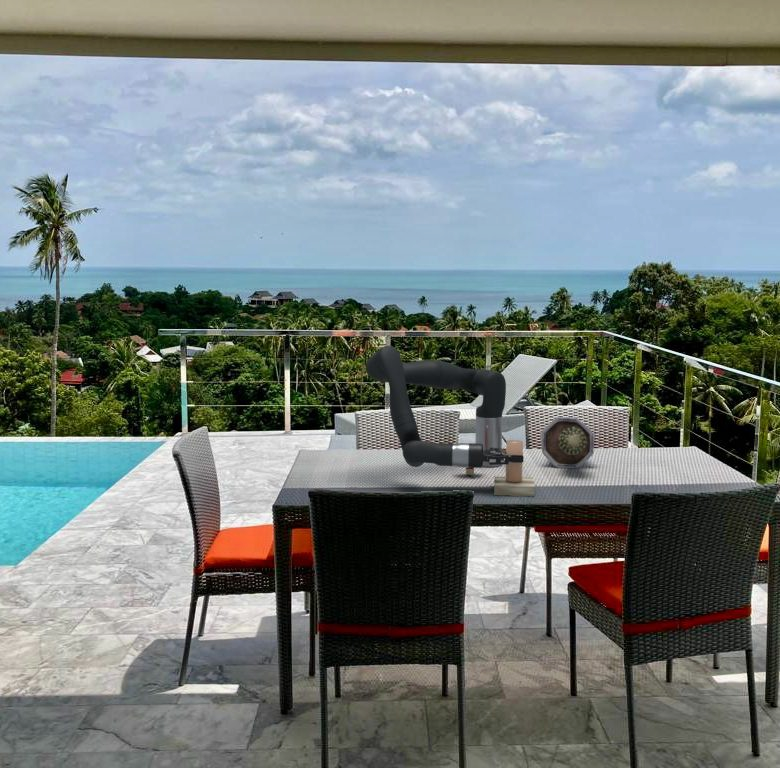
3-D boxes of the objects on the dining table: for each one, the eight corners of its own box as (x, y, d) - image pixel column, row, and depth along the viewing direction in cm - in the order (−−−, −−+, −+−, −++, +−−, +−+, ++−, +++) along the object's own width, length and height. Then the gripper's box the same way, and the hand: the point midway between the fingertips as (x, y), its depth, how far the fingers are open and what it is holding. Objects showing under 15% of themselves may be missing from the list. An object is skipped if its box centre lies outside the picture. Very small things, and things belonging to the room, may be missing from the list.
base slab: (494, 485, 267) (494, 476, 267) (532, 486, 266) (532, 477, 266) (494, 495, 256) (494, 485, 255) (534, 496, 254) (534, 487, 254)
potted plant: (539, 418, 306) (546, 411, 276) (590, 421, 304) (602, 415, 275) (537, 467, 304) (544, 465, 275) (587, 470, 302) (600, 469, 273)
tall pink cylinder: (505, 477, 263) (506, 439, 261) (521, 478, 262) (522, 440, 261) (505, 481, 258) (506, 442, 257) (522, 482, 258) (523, 443, 256)
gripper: (467, 448, 254) (524, 449, 252) (468, 438, 268) (522, 440, 266) (466, 472, 255) (523, 474, 252) (468, 462, 269) (522, 463, 267)
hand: (522, 456), depth 259 cm, fingers open, 5 cm apart
